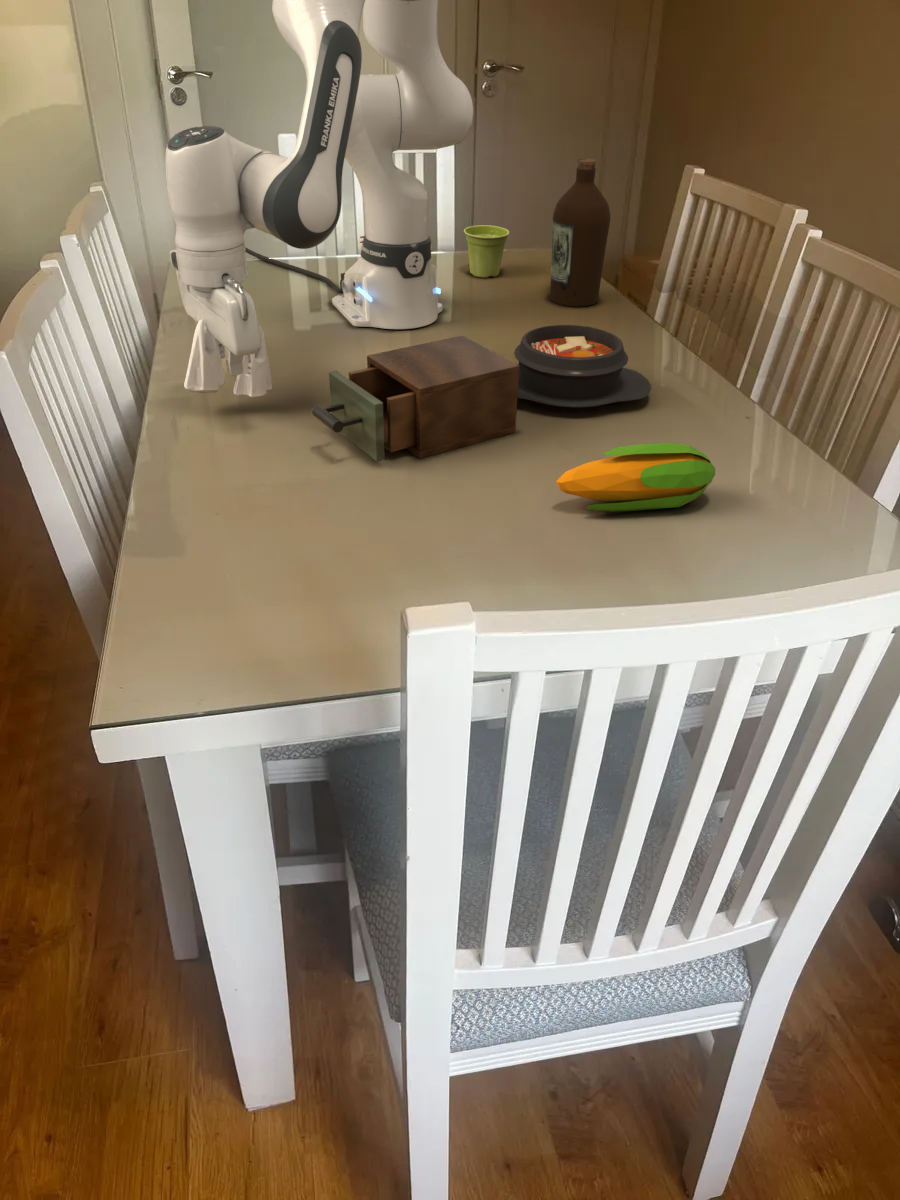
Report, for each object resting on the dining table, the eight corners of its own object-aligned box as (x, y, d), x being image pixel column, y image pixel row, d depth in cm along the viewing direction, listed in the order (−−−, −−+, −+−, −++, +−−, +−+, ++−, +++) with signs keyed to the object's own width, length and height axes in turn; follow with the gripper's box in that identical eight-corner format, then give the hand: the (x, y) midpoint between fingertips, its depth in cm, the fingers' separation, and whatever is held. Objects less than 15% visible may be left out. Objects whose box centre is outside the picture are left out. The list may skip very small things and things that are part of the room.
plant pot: (512, 270, 194) (514, 227, 189) (499, 282, 187) (502, 238, 182) (470, 265, 197) (471, 223, 192) (456, 277, 189) (457, 233, 184)
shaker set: (185, 401, 129) (173, 324, 123) (188, 389, 133) (176, 314, 126) (271, 398, 131) (263, 322, 124) (272, 386, 134) (264, 312, 128)
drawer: (346, 469, 116) (343, 412, 112) (303, 433, 125) (298, 378, 120) (469, 436, 125) (471, 381, 120) (421, 404, 134) (421, 352, 129)
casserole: (486, 417, 133) (488, 361, 128) (485, 369, 148) (487, 318, 143) (658, 421, 132) (667, 365, 127) (640, 373, 147) (647, 321, 143)
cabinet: (419, 458, 121) (419, 389, 116) (369, 421, 131) (366, 355, 125) (515, 432, 129) (519, 365, 123) (460, 399, 138) (462, 335, 132)
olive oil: (583, 289, 184) (596, 153, 170) (611, 304, 176) (628, 163, 162) (537, 295, 181) (546, 156, 166) (563, 311, 173) (576, 167, 158)
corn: (732, 453, 107) (569, 465, 103) (722, 512, 111) (564, 525, 107) (705, 430, 113) (550, 441, 110) (696, 487, 117) (546, 499, 114)
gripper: (267, 282, 115) (277, 386, 124) (208, 243, 129) (221, 338, 137) (219, 290, 113) (233, 395, 121) (164, 249, 126) (180, 346, 135)
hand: (226, 365), depth 129 cm, fingers closed on shaker set, 5 cm apart
